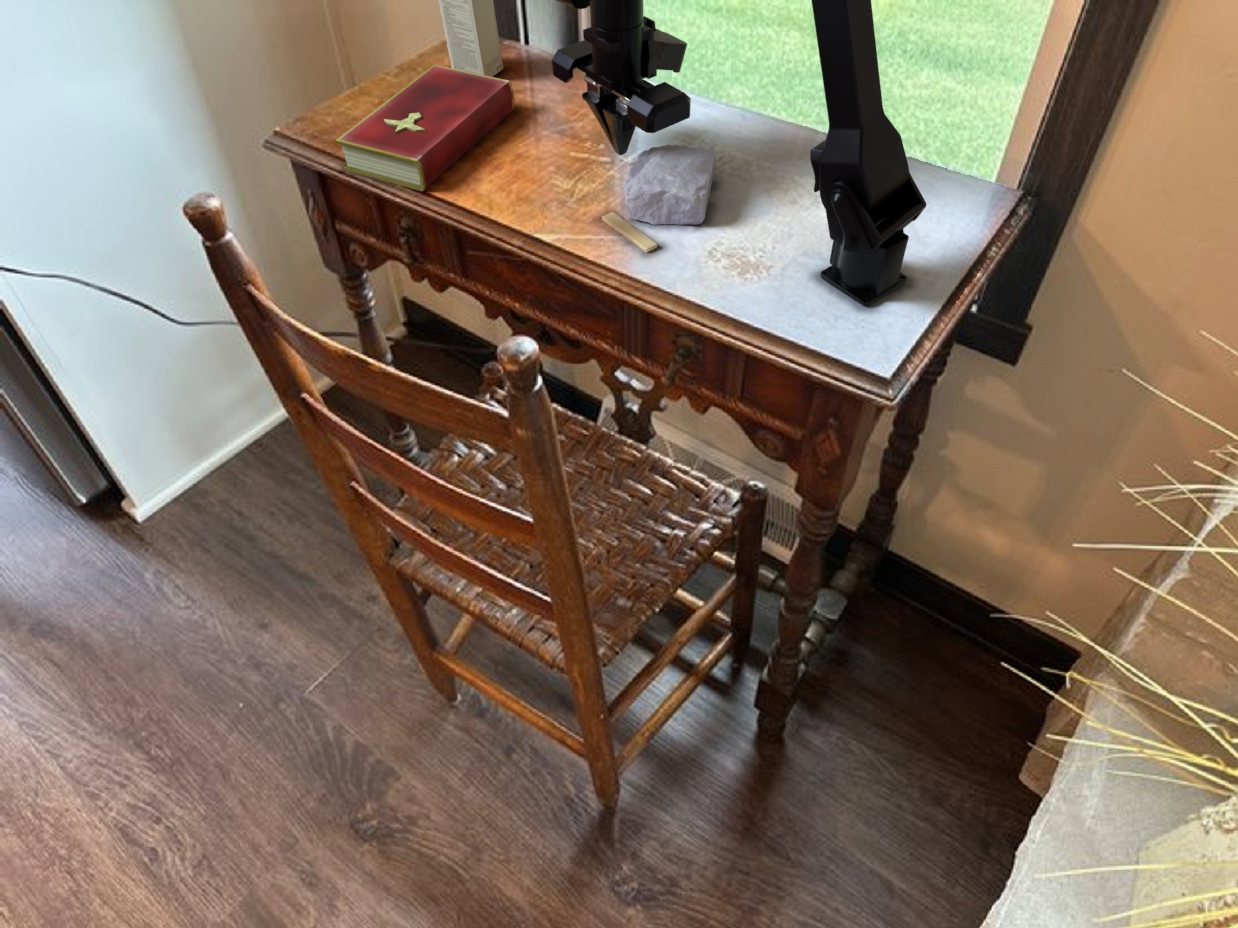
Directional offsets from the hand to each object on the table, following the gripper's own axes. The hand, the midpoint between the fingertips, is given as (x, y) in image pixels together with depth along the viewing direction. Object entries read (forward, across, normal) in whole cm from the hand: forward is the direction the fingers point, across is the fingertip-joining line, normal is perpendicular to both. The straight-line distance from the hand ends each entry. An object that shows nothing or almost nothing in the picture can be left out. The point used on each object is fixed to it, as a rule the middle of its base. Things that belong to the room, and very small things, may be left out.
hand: (621, 153), depth 109 cm
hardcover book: (+1, +20, +15) cm, 25 cm away
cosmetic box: (+1, +32, +1) cm, 32 cm away
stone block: (+2, -9, 0) cm, 9 cm away
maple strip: (+1, -12, +8) cm, 15 cm away
